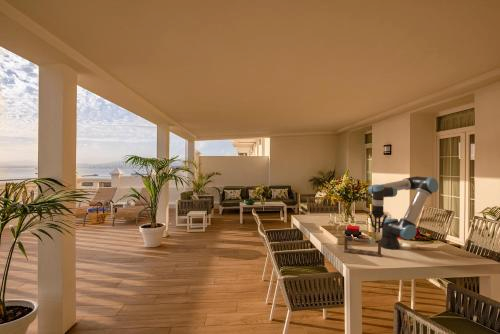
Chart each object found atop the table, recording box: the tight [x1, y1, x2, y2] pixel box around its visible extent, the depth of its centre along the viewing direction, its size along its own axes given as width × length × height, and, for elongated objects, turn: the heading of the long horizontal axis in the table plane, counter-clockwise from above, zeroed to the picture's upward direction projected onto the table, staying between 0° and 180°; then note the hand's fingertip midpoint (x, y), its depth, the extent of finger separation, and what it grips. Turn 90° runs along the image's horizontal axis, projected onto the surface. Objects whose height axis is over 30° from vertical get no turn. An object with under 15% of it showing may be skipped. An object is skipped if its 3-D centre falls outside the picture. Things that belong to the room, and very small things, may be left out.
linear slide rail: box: [343, 235, 382, 258], centre depth 226 cm, size 26×8×12 cm, turn 67°
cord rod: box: [347, 236, 378, 244], centre depth 226 cm, size 24×3×3 cm, turn 67°
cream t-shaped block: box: [368, 230, 376, 246], centre depth 223 cm, size 4×4×10 cm
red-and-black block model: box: [344, 224, 363, 239], centre depth 271 cm, size 15×8×25 cm
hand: (377, 236), depth 222 cm, fingers closed
